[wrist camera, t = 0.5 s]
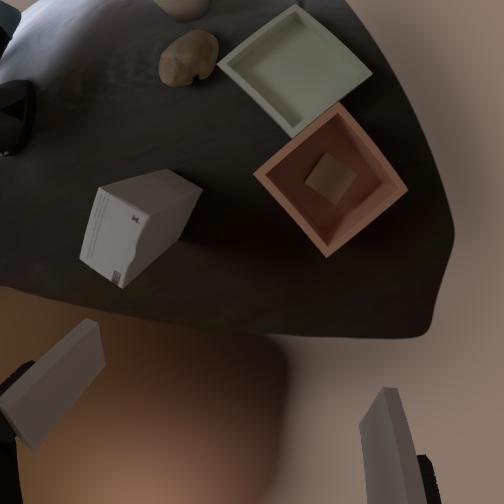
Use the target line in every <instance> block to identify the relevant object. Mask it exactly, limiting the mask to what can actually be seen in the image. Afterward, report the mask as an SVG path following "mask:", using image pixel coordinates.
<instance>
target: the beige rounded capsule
mask: <svg viewBox="0 0 504 504" xmlns="http://www.w3.org/2000/svg"><path fill="white" fill-rule="evenodd" d="M153 1H154V2H155V3H156V4H157V5H158V6H159V7H160V8H161V9H162V10H164V11H165V12H166V13H167V14H168V15H169V16H170V17H171V18H172V19H173V20H175V21H177V22H181V23H186V22H191V21H194V20H196V19H198V18H200V17H201V16H203V15H204V14H205V13H206V12H207V11H208V9H209V7H210V4H211V0H153Z"/></svg>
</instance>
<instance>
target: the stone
mask: <svg viewBox="0 0 504 504" xmlns="http://www.w3.org/2000/svg"><path fill="white" fill-rule="evenodd" d="M218 53H219V44H218V41H217V39H216V37H215V36H214V35H212V34H211V33H209V32H206V31H204V30H199V29H195V30H192V31H190V32H189V33H186V34H184V35H183V36H181V37H180V38H178V39H177V40H175V41H174V42H173V43H172V44H171V45H170V46H169V47H168V48H167V49H166V50H165V51H164V52H163V53H162V55H161V57H160V62H159V75H160V78H161V80H162V82H163V83H164V84H165V85H167V86H170V87H176V86H184V85H189V84H191V83H192V82H193V77H195V76H196V75H198V78H199V79H201V80H203V79H205V78H207V77H208V76H209V75H210V74H211V73H212V71H213V69H214V67H215V65H216V61H217V58H218Z"/></svg>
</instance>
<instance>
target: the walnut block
mask: <svg viewBox="0 0 504 504" xmlns="http://www.w3.org/2000/svg"><path fill="white" fill-rule="evenodd" d="M356 176H357V174H356V173H355V172H353V171H352V170H351V169H349V168H348V167H347V166H345V165H344V164H342V163H341V162H340V161H338V160H337V159H336V158H334V157H333V156H331V155H330V154H328V153H327V152H323V153H322V154H321V155H320V157H319V158H318V160H317V161H316V163H315V164H314V166H313V167H312V168H311V170H310V171H309V173H308V174H307V176H306V177H305V179H304V183H305V184H307V185H308V186H310V187H311V188H313V189H314V190H315V191H317V192H318V193H320V194H321V195H323V196H324V197H325V198H327V199H328V200H330V201H331V202H332V203H334V204H335V205H336V204H337V203H338V202H339V200H340V199H341V197H342V196H343V194H344V193H345V192H346V190H347V189H348V187H349V186H350V184H351V183H352V182H353V180H354V179H355V177H356Z"/></svg>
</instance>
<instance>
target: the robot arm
mask: <svg viewBox="0 0 504 504" xmlns="http://www.w3.org/2000/svg"><path fill="white" fill-rule="evenodd" d="M20 21H21V12H20V11H19V10H18V9H16V8H14V7H12V6H10V5H9V4H6V3H5V2H2V1H0V59H1V57H2V55H3V53H4V51H5V49H6V47H7V45H8V43H9V42H10V41H11V40H12V38H13V37H12V36H13V34H14V32H15V30H16V28H17V27H18V25H19V23H20ZM34 114H35V93H34V89H33V87H32V85H31V84H30V83H29V82H28V81H25V80H12V81H9V82H6V83H3V84H0V156H3V157H4V156H12V155H15V154H16V153H18V152H19V151H20V150H21V149H22V147H23V146H24V144H25V142H26V141H27V138H28V136H29V134H30V131H31V128H32V124H33V120H34ZM104 367H105V360H104V355H103V349H102V343H101V338H100V331H99V324H98V323H97V322H94V321H92V320H90V319H87V318H86V319H85V320H84V321H82V322H81V323H80V324H79V325H78V326H77V327H75V328H74V329H73V330H72V331H71V332H70V333H68V334H67V335H66V336H65V337H64V338H63V339H62V340H61V341H59V342H58V343H57V344H56V345H55V346H54V347H53V348H52V349H50V350H49V351H48V352H47V353H46V354H45V355H44V356H43V357H42V358H40V359H39V360H38V361H37V362H34V361H33V360H31V361H29V362H27V363H24V364H22V365H21V366H20V367H19V368H18V369H17V370H16V371H15V373H12V374H11V375H10V377H9V378H7V379H6V380H5V381H4V382H3V383H2V384H1V385H0V504H23V500H22V494H21V488H20V481H19V474H18V463H17V449H16V441H15V439H14V438H15V437H16V436H18V437H19V439H20V440H21V442H22V443H24V445H26V446H27V447H28V448H30V449H31V450H32V451H34V452H35V451H36V450H37V449H38V447H39V446H40V445H41V443H42V442H43V441H44V440H45V438H46V437H47V436H48V434H49V433H50V432H51V431H52V429H53V428H54V427H55V426H56V424H57V423H58V422H59V421H60V419H61V418H62V417H63V416H64V415H65V413H66V412H67V411H68V409H69V408H70V407H71V406H72V405H73V404H74V402H75V401H76V400H77V399H78V397H79V396H80V395H81V394H82V393H83V391H84V390H85V389H86V388H87V387H88V385H89V384H90V383H91V382H92V381H93V379H94V378H95V377H96V376H97V374H99V372H100V371H101V370H102V369H103V368H104ZM359 428H360V434H361V443H362V451H363V460H364V469H365V479H366V491H367V504H442V503H441V499H440V494H439V490H438V485H437V484H436V482H437V481H436V477H435V476H434V474H435V473H434V470H433V466H432V463H431V461H430V460H429V459H428V458H427V456H426V455H416V452H415V448H414V444H413V440H412V437H411V433H410V430H409V426H408V422H407V419H406V416H405V412H404V409H403V406H402V403H401V399H400V397H399V393H398V390H397V388H387V387H382V389H381V390H380V392H379V394H378V395H377V397H376V399H375V400H374V402H373V404H372V405H371V407H370V408H369V410H368V412H367V413H366V415H365V416H364V418H363V419H362V421H361V422H360V424H359Z"/></svg>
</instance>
